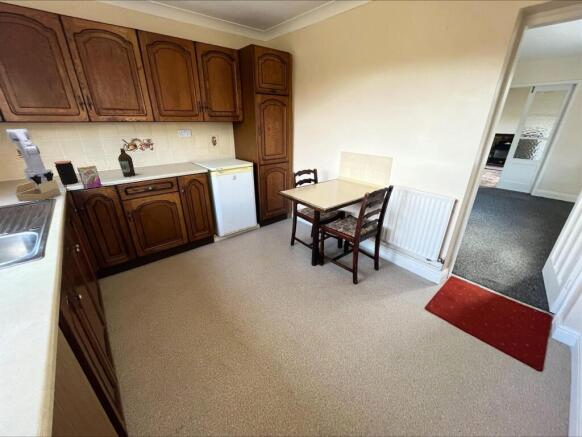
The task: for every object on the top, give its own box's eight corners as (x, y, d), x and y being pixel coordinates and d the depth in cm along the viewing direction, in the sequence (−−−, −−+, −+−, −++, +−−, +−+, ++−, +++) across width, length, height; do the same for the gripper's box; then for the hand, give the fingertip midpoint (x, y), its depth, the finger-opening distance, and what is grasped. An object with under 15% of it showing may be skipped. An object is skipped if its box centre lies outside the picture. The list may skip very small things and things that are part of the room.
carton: (38, 194, 174) (35, 188, 172) (61, 194, 175) (58, 188, 173) (18, 201, 161) (15, 194, 160) (43, 200, 162) (41, 194, 160)
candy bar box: (85, 189, 186) (77, 168, 180) (83, 188, 189) (76, 167, 183) (102, 186, 194) (95, 165, 188) (100, 185, 197) (93, 165, 191)
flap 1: (34, 188, 172) (34, 187, 172) (36, 180, 170) (35, 180, 170) (16, 193, 160) (15, 193, 160) (17, 185, 158) (16, 185, 158)
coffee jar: (82, 182, 207) (74, 160, 200) (68, 185, 197) (60, 163, 190) (72, 181, 210) (65, 160, 202) (59, 184, 200) (50, 162, 193)
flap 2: (55, 179, 170) (56, 179, 170) (58, 187, 172) (58, 187, 172) (38, 184, 158) (38, 184, 158) (41, 193, 160) (41, 193, 160)
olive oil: (126, 174, 231) (118, 147, 221) (138, 174, 232) (131, 147, 222) (120, 177, 221) (112, 149, 212) (133, 177, 223) (125, 149, 213)
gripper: (33, 166, 153) (42, 187, 158) (53, 162, 166) (61, 182, 171) (22, 167, 153) (31, 188, 158) (42, 163, 166) (50, 182, 171)
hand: (46, 185), depth 165 cm, fingers open, 7 cm apart
